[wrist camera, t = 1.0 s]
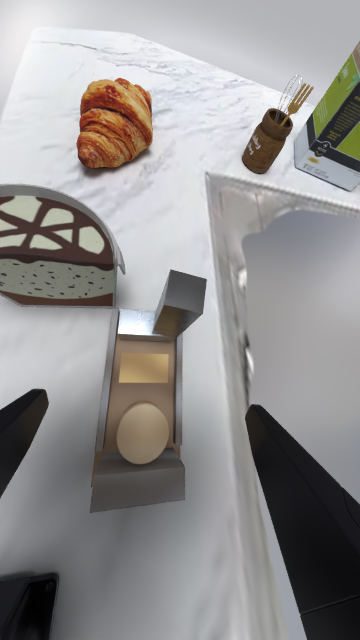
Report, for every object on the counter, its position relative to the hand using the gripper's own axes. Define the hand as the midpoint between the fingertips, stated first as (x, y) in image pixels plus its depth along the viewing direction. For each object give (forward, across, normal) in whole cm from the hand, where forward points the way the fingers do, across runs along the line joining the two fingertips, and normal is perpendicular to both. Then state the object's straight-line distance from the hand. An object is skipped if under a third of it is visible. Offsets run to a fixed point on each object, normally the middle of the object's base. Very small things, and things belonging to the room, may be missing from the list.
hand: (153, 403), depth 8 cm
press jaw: (+12, +1, +4) cm, 13 cm away
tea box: (+48, -32, -23) cm, 62 cm away
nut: (+6, +1, +11) cm, 12 cm away
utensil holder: (+42, -15, -19) cm, 48 cm away
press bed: (+9, +1, +9) cm, 13 cm away
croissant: (+36, +10, -17) cm, 41 cm away
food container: (+16, +11, +1) cm, 20 cm away
